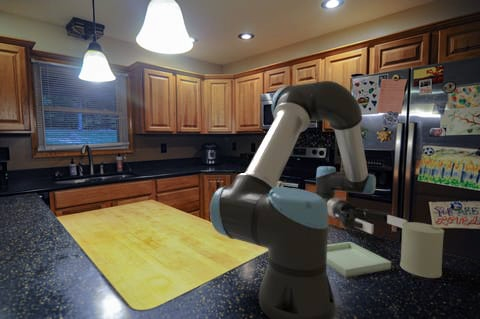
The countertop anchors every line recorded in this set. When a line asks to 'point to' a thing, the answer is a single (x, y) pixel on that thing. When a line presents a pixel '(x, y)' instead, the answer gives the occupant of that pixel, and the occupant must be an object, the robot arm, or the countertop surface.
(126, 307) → the countertop surface
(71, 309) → the countertop surface
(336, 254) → the tray
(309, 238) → the robot arm
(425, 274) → the can
